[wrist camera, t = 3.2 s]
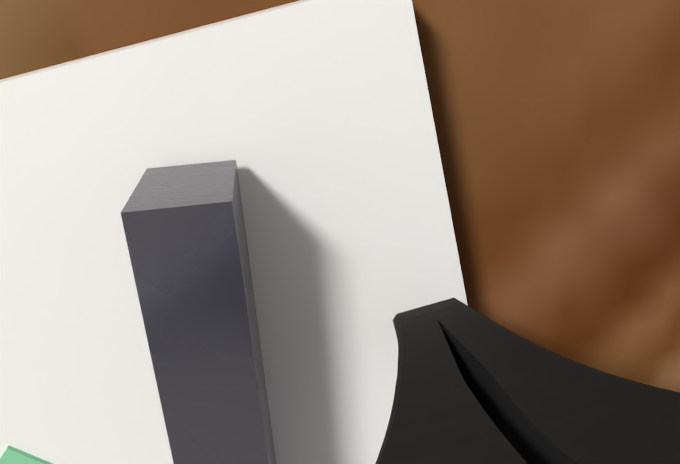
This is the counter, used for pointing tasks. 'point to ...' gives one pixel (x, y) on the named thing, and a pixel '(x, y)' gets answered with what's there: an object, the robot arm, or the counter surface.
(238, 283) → the dial pointer
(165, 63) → the dial board
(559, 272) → the counter surface
